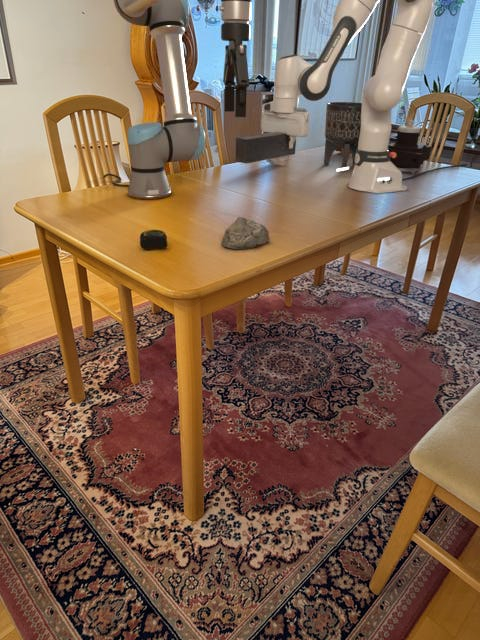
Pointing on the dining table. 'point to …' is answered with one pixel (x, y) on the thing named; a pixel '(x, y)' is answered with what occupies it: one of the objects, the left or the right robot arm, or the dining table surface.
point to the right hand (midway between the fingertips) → (283, 147)
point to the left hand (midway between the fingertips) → (234, 114)
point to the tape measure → (153, 239)
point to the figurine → (277, 160)
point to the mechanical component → (409, 148)
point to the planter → (342, 130)
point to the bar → (263, 147)
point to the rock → (245, 234)
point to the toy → (341, 150)
